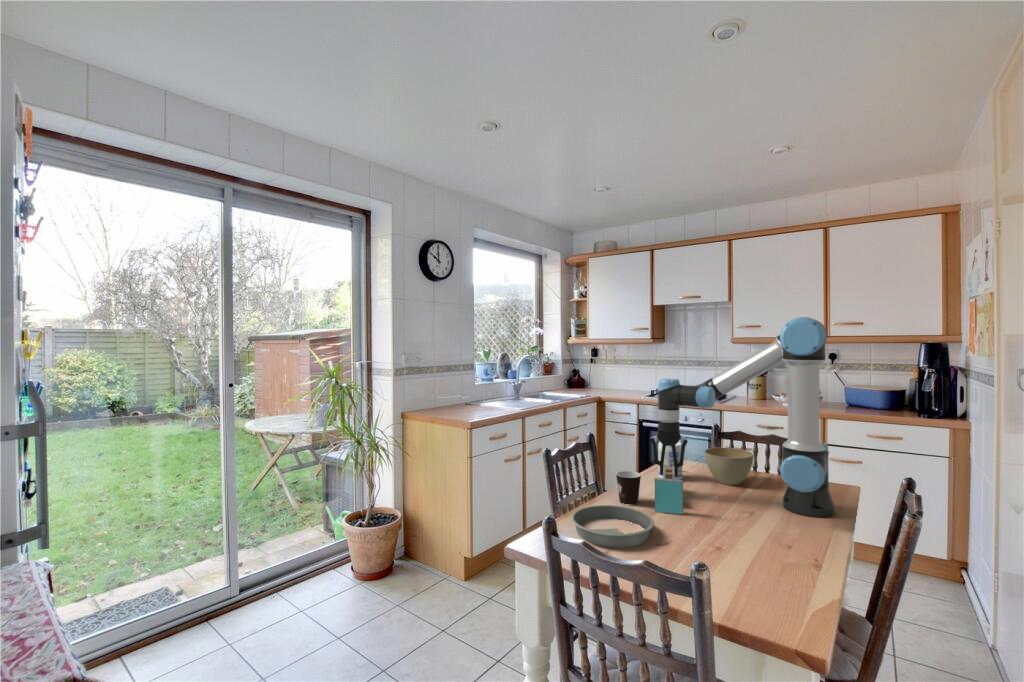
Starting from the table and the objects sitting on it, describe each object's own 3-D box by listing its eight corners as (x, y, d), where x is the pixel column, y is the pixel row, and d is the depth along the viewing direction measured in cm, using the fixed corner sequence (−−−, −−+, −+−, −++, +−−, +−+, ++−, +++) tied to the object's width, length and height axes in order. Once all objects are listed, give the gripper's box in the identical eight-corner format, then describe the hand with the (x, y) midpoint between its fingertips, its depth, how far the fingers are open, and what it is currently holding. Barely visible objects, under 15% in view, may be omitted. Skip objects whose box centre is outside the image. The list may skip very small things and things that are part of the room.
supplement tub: (672, 483, 193) (672, 446, 193) (653, 477, 201) (653, 442, 201) (687, 478, 199) (686, 443, 199) (667, 473, 207) (667, 439, 207)
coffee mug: (641, 506, 167) (641, 478, 167) (616, 505, 168) (616, 477, 168) (639, 496, 178) (639, 469, 178) (616, 494, 180) (615, 468, 180)
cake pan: (669, 532, 145) (669, 517, 145) (624, 559, 128) (624, 542, 128) (602, 512, 163) (601, 498, 163) (554, 533, 146) (554, 518, 146)
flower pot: (738, 475, 203) (738, 446, 203) (763, 488, 185) (762, 457, 185) (697, 476, 202) (696, 447, 202) (717, 489, 184) (717, 458, 184)
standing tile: (655, 510, 164) (654, 477, 163) (683, 512, 161) (682, 480, 161) (654, 512, 161) (654, 479, 161) (683, 515, 159) (682, 482, 159)
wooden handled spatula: (659, 478, 186) (659, 465, 186) (678, 479, 184) (678, 466, 184) (658, 494, 167) (658, 480, 167) (679, 496, 165) (679, 482, 165)
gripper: (690, 419, 178) (690, 482, 178) (647, 417, 183) (647, 479, 183) (691, 423, 171) (691, 489, 171) (646, 421, 176) (646, 484, 176)
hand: (668, 483), depth 177 cm, fingers closed on wooden handled spatula, 2 cm apart
